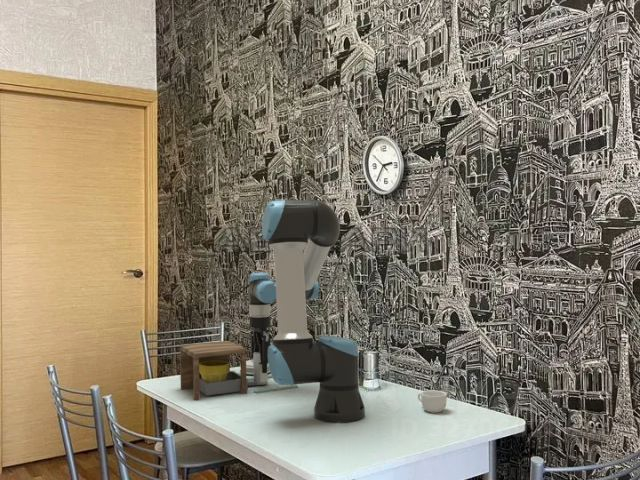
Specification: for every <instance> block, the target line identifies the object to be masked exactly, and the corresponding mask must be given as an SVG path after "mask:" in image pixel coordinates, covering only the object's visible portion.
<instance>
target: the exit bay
mask: <svg viewBox="0 0 640 480" xmlns="http://www.w3.org/2000/svg"><path fill="white" fill-rule="evenodd" d="M246 378H247V379H248V380H254V376H252V377H246ZM268 379H273V377H272V375H271V374H270V375H269V374H268ZM297 388H299V384H295V385H292V386H291V385H281V386H275V387H268V388H261V389H254V390H253V393H255V394H261V393H268V392H274V391H275V392H277V391H281V390H282V391H283V390H289V389H290V390H292V389H297Z"/></svg>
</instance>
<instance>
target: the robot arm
mask: <svg viewBox="0 0 640 480" xmlns="http://www.w3.org/2000/svg"><path fill="white" fill-rule="evenodd" d="M339 219H340V218H339V217H338V215H337V213H336V212H335V210H334V209H333V208H332V207H331V206H330V205H329V204H327V203H325V202H323V201H320V200H315V199H314V200H313V199H312V200H303V199H302V200H297V199H296V200H295V199H293V200H292V199H282V200H271V201H270V202H268V203H267V205H266V206H265V209H264V212H263V217H262V223H261V231H262V232H261V233H262V238H263V240H265V241H268V247H269V248H270V249H271V250H273V253H274V271H275V272H274V273H275V274H274V275H275V279H274V280H273V279H272V280H271V275H270V274H269V273H266V272H256V273H255V272H253V273H250V274H249V276H248V278H249V279H248V284H249V285H248V286H249V287H248V288H249V291H248V293H249V294H248V295H249V296H248V297H249V299H248V300H249V305H248V308H249V310H248V311H249V312H248V313H249V314H248V315H250V316H249V327H250V328H252V329H253V330H251V331H249V333H250V358H251V359H253V353H254V352H260V360H261V363H259V364H260V382H269V381H268V379H269V378H268V375H269V374H268V369H267V364H268V363H269V368H270V372H269V373H270V375H272V377H273V378H272V379H273V381H274V382H275V383H276V384H277V385H278V386H290V385H291V386H292V385H301V384H302V385H303V384H314V383H316V384H317V383H319V389H318V395H317V398H316V401H315V404H314V408H313V417H315V419H317V420H319V421H323V422H328V423H349V422H355V421H358V420H362V419H363V418H364V417H365V416H366V408H365V405H364V402H363V398H362V396H361V392H360V388H359V387H360V386H359V357H360V354H359V347H358V343H357V342H356V341H355V340H354V339H351V338H347V337H343V336H342V337H340V336H335V335H334V336H332V335H331V336H330V335H321V336H319V337H318V340H317V342H315V341H314V338H313V335H311V333H310V332H309V331H308V321H307V320H308V319H307V302H308V301H313V300H316V299H317V298H318V297H319V292H320V286H319V282H318V279H319V275H320V273H321V270H322V268H323V266H324V263H325V261H326V258H327V256H328V255H329V251H330V250H331V247H333V246H335V245H336V243H337V241H338V239H339V236H340V231H341V225H340V221H339ZM306 301H307V302H306ZM275 302H276V313H277V314H276V315H277V317H276V319H277V334H276V335H275V336H274V337H273V338H272V340H273V341H272V342H273V343H272V344H271V335H270V334H268V331H267V328H269V327H270V326H271V316H270V315H271V309H272V306H271V304H272V303H275Z"/></svg>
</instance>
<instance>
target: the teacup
mask: <svg viewBox="0 0 640 480" xmlns="http://www.w3.org/2000/svg"><path fill="white" fill-rule="evenodd" d="M417 395H418V396H417V399H418V401H419V402H420V403H421V405H422V408H423V409H424V411H425V412H427V413H430V412H431V414H439V413H442V412H443V411H444V410H445V409H446V407H447V403H448V402H447V398H448V393H447V392H445V391H442V390H433V389H429V390H422V391H421V392H420V393H419V394H417Z"/></svg>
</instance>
